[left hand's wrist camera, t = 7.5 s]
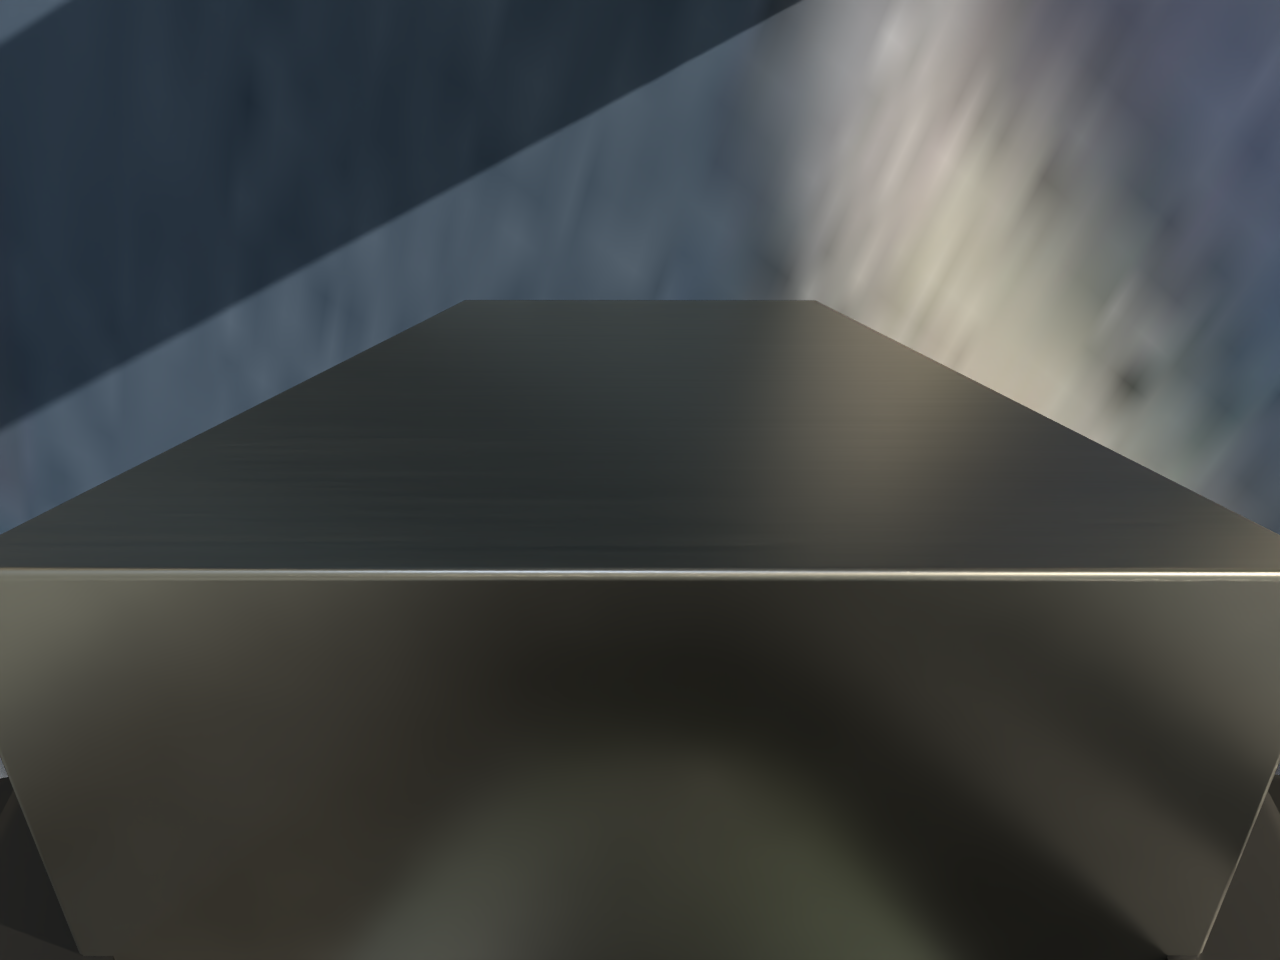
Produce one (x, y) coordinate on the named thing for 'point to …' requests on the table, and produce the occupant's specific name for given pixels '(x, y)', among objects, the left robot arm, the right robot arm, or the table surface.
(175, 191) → the table surface
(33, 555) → the box
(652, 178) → the table surface
